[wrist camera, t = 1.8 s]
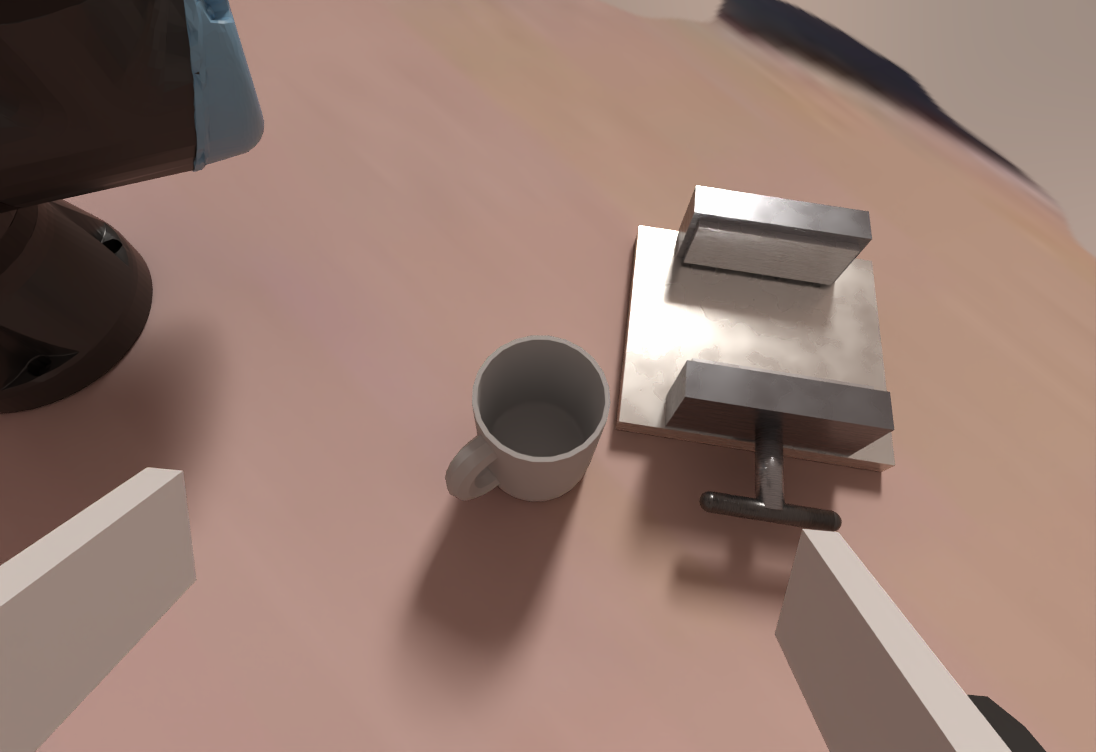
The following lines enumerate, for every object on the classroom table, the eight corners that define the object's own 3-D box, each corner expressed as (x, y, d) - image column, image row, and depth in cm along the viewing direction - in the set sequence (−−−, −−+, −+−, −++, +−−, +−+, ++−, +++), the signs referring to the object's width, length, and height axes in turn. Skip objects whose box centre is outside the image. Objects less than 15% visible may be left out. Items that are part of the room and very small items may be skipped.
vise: (606, 509, 37) (624, 483, 31) (635, 238, 46) (653, 177, 40) (890, 556, 36) (962, 537, 30) (861, 272, 46) (911, 217, 40)
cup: (612, 458, 38) (638, 407, 30) (490, 556, 35) (483, 528, 27) (544, 379, 40) (551, 312, 32) (423, 465, 37) (398, 414, 29)
